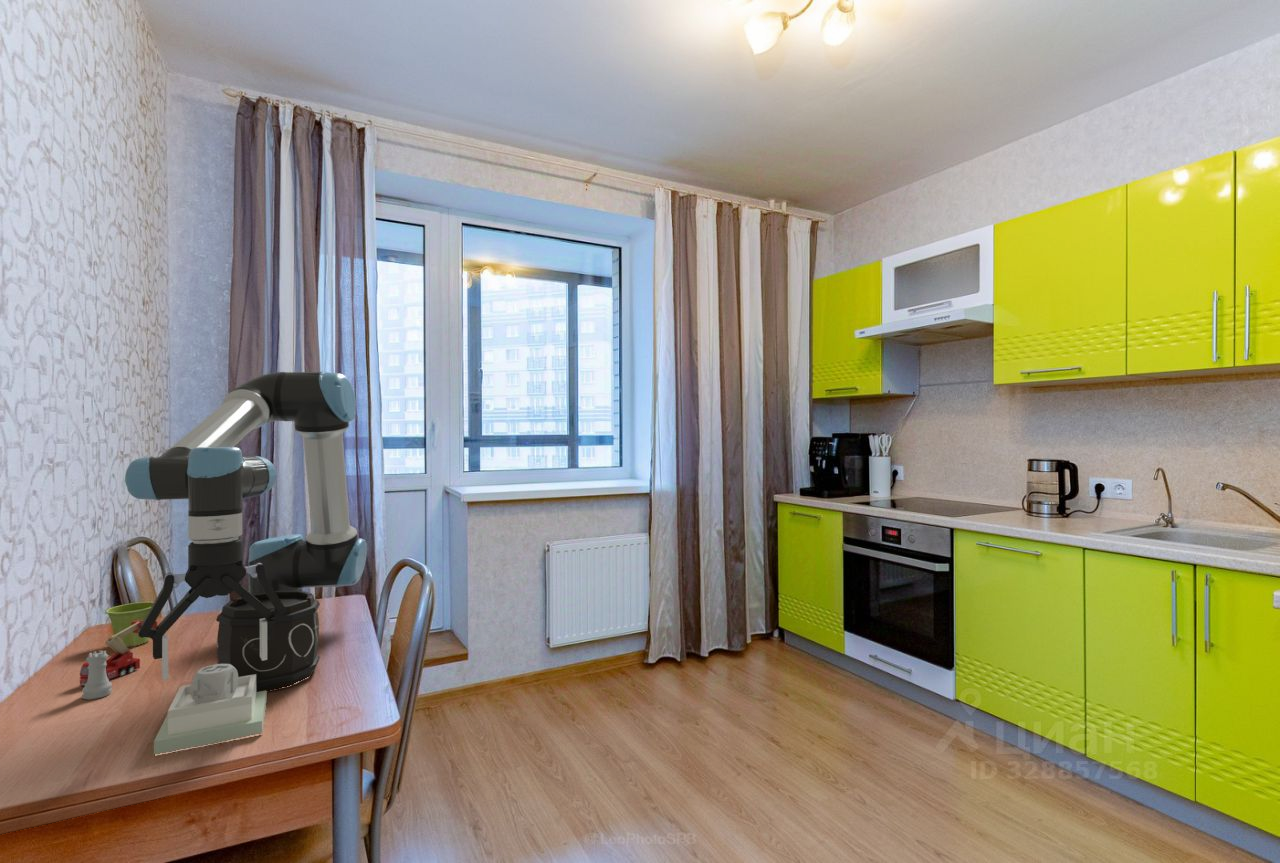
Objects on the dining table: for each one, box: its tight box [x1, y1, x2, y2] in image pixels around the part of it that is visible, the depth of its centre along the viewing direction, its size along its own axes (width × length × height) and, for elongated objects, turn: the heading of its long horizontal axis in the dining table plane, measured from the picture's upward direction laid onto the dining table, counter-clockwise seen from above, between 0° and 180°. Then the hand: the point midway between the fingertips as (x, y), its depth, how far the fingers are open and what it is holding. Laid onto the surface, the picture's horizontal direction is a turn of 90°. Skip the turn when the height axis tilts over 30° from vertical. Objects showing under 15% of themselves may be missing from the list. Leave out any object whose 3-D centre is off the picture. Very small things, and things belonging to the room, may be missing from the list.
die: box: [190, 663, 238, 704], centre depth 104 cm, size 5×5×5 cm
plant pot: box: [105, 601, 155, 648], centre depth 148 cm, size 9×9×9 cm
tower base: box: [153, 674, 268, 755], centre depth 104 cm, size 14×14×7 cm
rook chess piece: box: [81, 650, 113, 701], centre depth 118 cm, size 4×4×8 cm
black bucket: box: [215, 590, 321, 692], centre depth 126 cm, size 18×18×16 cm
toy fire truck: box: [79, 620, 158, 687], centre depth 128 cm, size 3×14×10 cm, turn 168°
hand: (216, 667), depth 105 cm, fingers open, 13 cm apart
